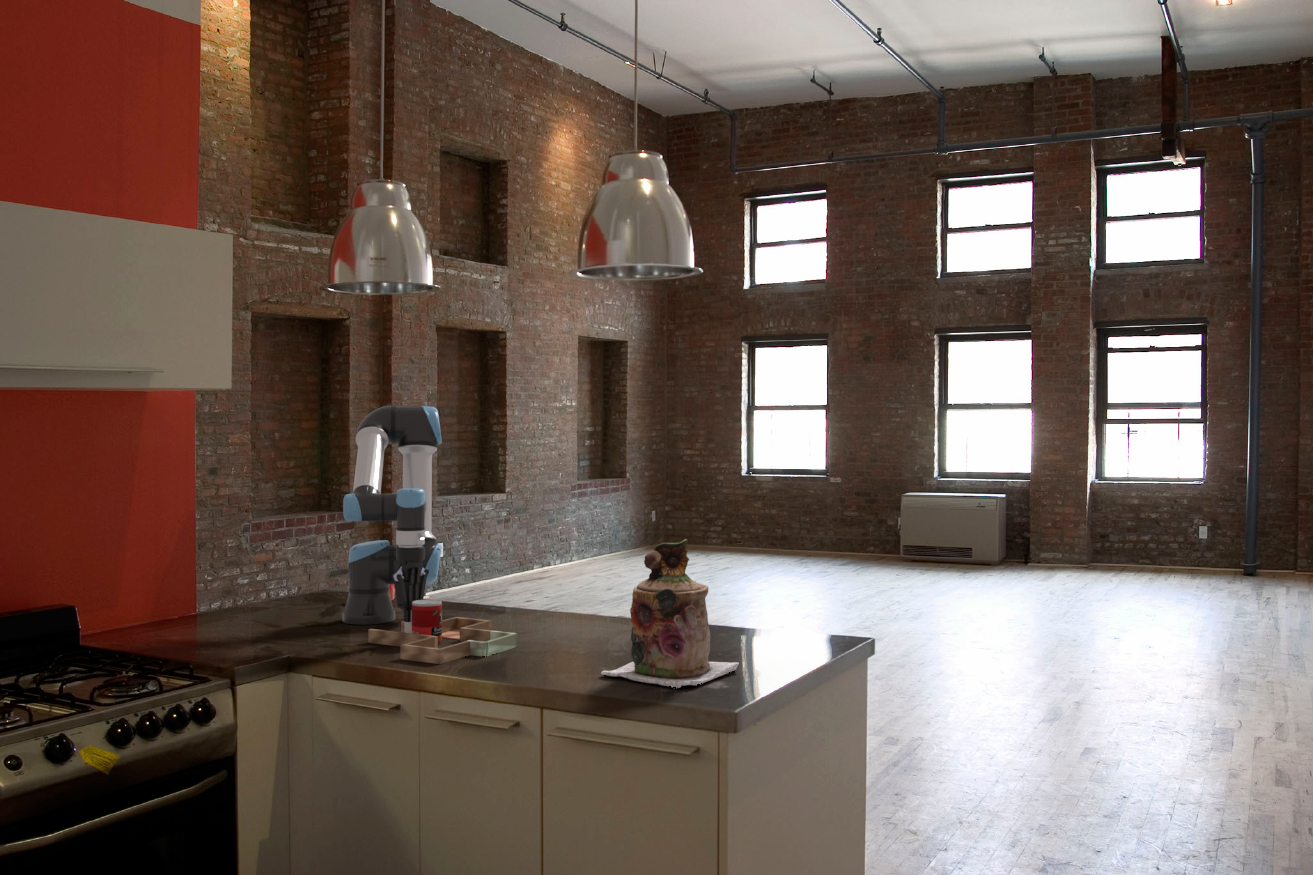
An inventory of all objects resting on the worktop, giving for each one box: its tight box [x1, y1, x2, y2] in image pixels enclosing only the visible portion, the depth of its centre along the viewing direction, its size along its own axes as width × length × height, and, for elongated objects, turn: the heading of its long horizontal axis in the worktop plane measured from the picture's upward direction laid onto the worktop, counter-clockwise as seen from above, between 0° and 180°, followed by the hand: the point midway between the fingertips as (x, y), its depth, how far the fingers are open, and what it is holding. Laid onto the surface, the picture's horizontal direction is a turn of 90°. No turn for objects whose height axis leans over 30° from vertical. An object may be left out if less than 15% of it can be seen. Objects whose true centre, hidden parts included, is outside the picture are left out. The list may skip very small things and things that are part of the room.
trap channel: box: [367, 616, 519, 665], centre depth 292 cm, size 38×38×4 cm
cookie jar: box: [600, 538, 740, 689], centre depth 259 cm, size 25×25×32 cm
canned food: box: [412, 599, 443, 645], centre depth 294 cm, size 8×8×11 cm
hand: (410, 633), depth 297 cm, fingers closed
